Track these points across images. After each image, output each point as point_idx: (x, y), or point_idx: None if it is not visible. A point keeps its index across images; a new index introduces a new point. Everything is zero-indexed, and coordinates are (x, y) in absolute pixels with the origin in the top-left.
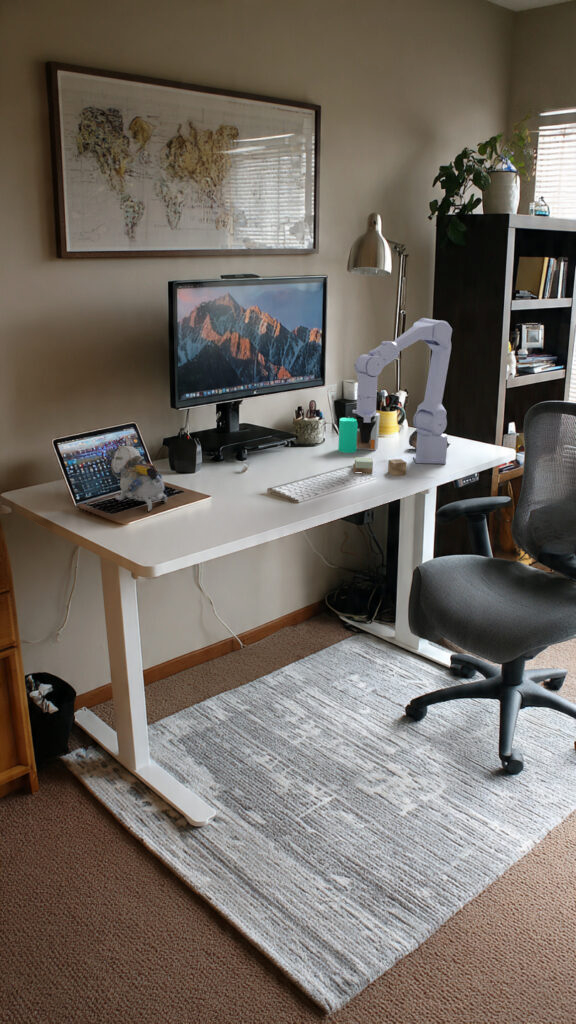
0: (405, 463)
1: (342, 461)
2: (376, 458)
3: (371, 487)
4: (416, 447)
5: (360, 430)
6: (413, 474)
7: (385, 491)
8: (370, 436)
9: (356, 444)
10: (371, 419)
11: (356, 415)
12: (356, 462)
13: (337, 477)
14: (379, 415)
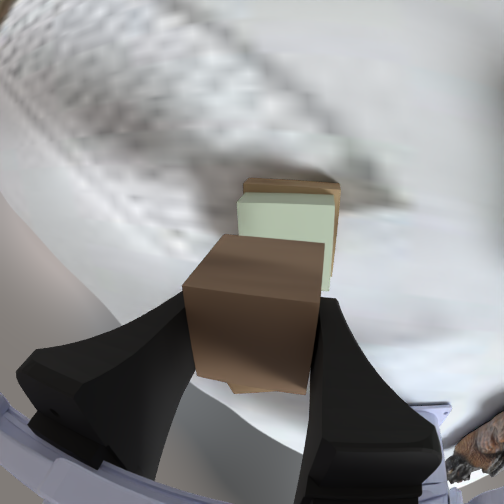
0: (233, 388)
1: (456, 149)
2: (476, 305)
3: (86, 229)
4: (500, 415)
5: (114, 333)
6: None
7: (69, 264)
8: (199, 369)
9: (322, 244)
10: (296, 497)
11: (424, 454)
12: (237, 202)
13: (170, 101)
14: None
